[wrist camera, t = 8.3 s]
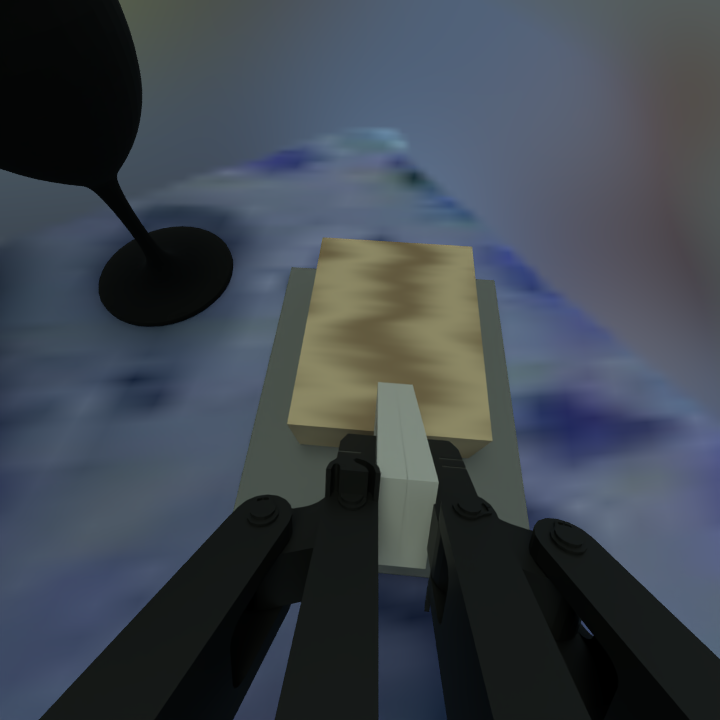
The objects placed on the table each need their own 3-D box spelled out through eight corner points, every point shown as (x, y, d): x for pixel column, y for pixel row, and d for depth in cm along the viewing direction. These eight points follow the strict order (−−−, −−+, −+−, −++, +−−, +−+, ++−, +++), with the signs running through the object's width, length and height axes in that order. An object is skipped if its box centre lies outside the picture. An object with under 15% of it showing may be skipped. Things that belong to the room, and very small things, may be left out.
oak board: (287, 424, 16) (322, 237, 22) (299, 444, 20) (327, 278, 26) (492, 440, 16) (471, 246, 22) (468, 458, 19) (456, 286, 26)
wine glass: (219, 328, 24) (-140, -215, 7) (79, 327, 24) (-650, -219, 7) (243, 229, 29) (70, -234, 12) (126, 229, 29) (-225, -236, 12)
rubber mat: (226, 557, 18) (222, 557, 17) (293, 272, 27) (291, 267, 26) (532, 586, 17) (537, 588, 16) (491, 285, 26) (494, 280, 26)
